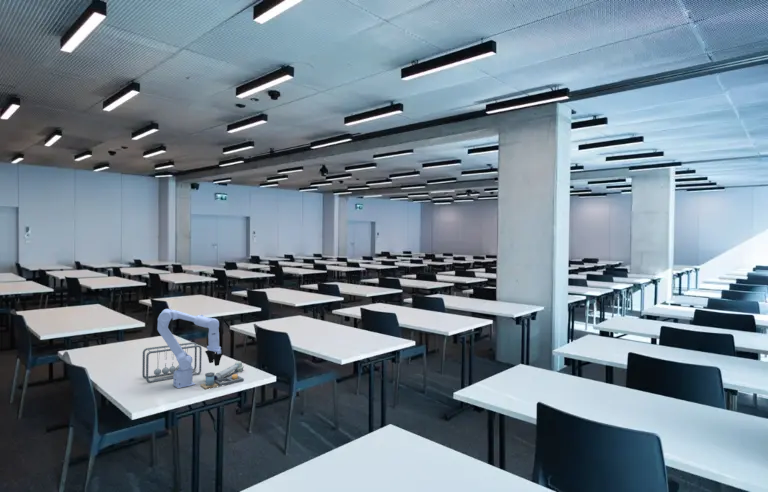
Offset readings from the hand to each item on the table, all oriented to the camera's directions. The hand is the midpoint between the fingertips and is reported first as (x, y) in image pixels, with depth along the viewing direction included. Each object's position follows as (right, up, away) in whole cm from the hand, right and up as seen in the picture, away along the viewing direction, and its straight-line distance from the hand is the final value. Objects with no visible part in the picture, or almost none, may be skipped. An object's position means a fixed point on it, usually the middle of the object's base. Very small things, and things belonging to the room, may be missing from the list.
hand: (214, 364), depth 254 cm
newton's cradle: (-28, -10, +9) cm, 31 cm away
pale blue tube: (+4, -11, +13) cm, 17 cm away
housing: (+8, -11, +1) cm, 13 cm away
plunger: (+11, -11, +3) cm, 15 cm away
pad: (0, -11, -7) cm, 13 cm away
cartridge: (0, -10, -7) cm, 12 cm away
